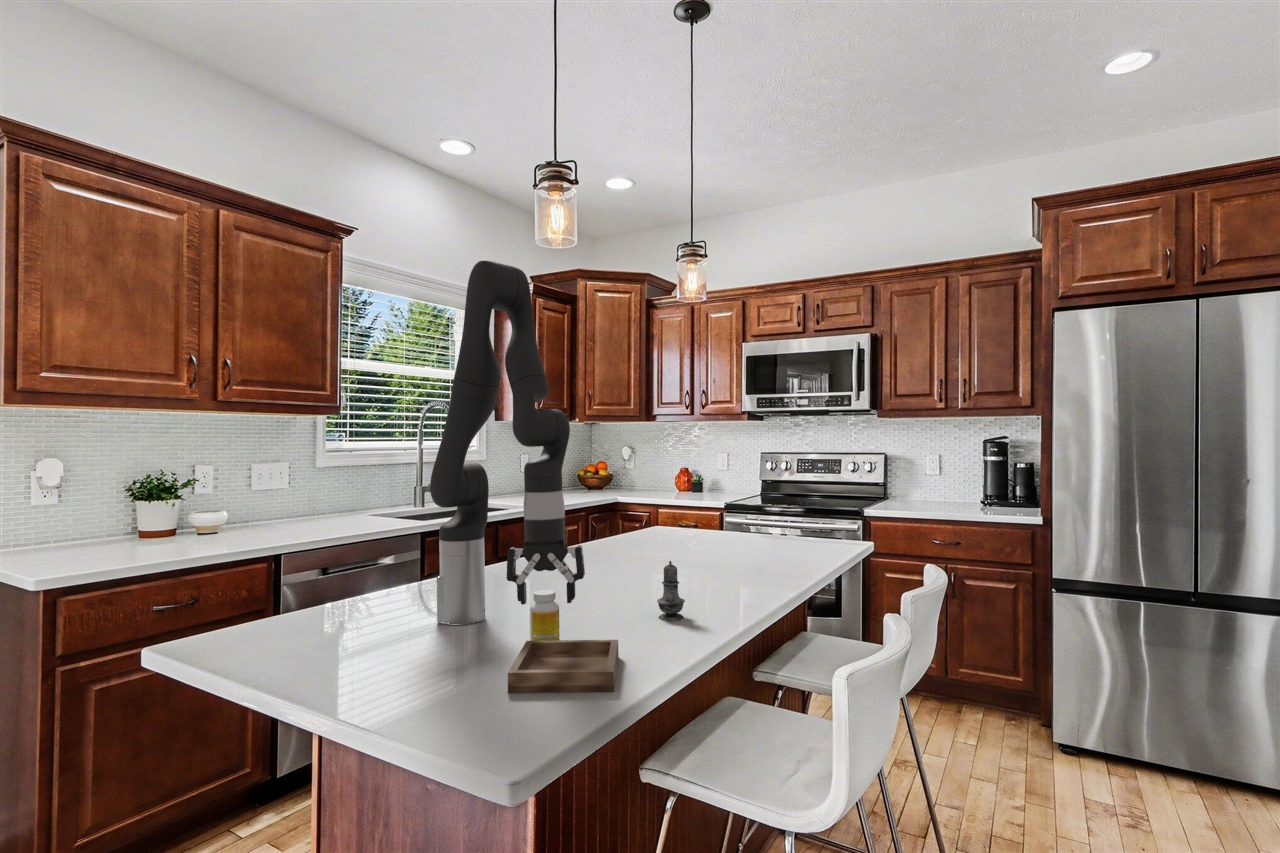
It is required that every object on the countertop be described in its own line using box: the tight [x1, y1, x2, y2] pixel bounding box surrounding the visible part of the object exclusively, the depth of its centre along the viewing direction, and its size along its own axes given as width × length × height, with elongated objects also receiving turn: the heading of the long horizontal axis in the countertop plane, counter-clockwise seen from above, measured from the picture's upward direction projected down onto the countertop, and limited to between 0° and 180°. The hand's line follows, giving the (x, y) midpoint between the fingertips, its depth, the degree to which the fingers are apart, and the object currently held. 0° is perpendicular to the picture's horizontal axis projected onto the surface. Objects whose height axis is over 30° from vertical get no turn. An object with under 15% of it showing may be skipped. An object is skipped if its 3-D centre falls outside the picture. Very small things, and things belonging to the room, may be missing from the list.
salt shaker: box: [656, 560, 686, 622], centre depth 143 cm, size 6×6×12 cm
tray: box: [507, 639, 619, 694], centre depth 111 cm, size 16×16×3 cm
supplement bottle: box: [529, 589, 560, 641], centre depth 127 cm, size 5×5×10 cm
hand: (546, 603), depth 127 cm, fingers open, 8 cm apart
